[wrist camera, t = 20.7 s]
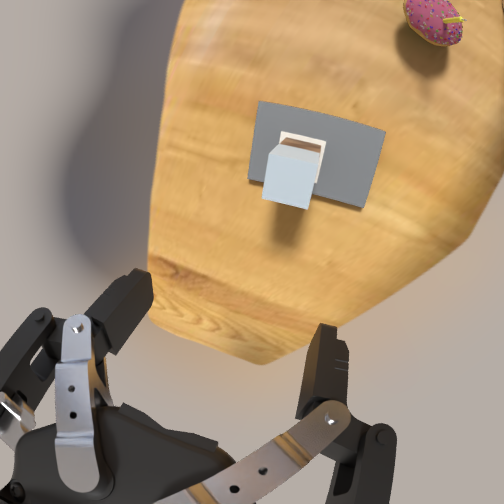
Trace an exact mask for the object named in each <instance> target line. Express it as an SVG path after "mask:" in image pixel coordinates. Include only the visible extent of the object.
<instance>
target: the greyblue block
mask: <svg viewBox="0 0 504 504" xmlns="http://www.w3.org/2000/svg"><path fill="white" fill-rule="evenodd" d="M319 156H320V153H318V152H314V151H309V150H305V149H301V148H296V147H292V146H287V145H282V144H278V145H277V146H276V147H275V148H274V149H273V150H272V151H271V152H270V153H269V156H268V162H267V168H266V174H265V181H264V187H263V193H262V199H266V200H270V201H275V202H279V203H283V204H287V205H291V206H295V207H299V208H304V209H307V210H308V207H309V202H310V198H311V194H312V190H313V186H314V181H315V177H316V173H317V168H318V163H319Z"/></svg>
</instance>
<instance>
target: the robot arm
mask: <svg viewBox="0 0 504 504" xmlns="http://www.w3.org/2000/svg"><path fill="white" fill-rule="evenodd" d="M502 4H503V9H504V0H502ZM153 298H154V295H153V287H152V279H151V274H150V273H149V272H146V271H143V270H140V269H137V268H135V269H133V271H131V273H130V274H129V275H128V276H125V275H124V276H122V277H120V278H118V279H116V280H115V281H114V282H113V283H112V284H111V285H110V286H109V287H108V288H107V289H106V290H105V291H104V292H103V294H102V295H100V297H99V298H98V299H97V300H96V301H95V302H94V303H93V304H92V305H91V306H90V308H89V309H88V310H87V311H86V312H85V313H84V314H83V315H82V314H76V315H73V316H71V317H69V318H68V319H61V318H55V317H53V315H52V313H51V311H50V310H49V309H47V308H38V309H36V310H34V311H33V312H32V313H31V314H30V315H29V316H28V317H27V319H26V320H25V321H24V322H23V323H22V324H21V326H20V327H19V328H18V329H17V330H16V332H15V333H14V334H13V336H12V337H11V338H10V339H9V341H8V342H7V343H6V344H5V346H4V347H3V349H2V350H1V351H0V438H1V439H2V440H3V441H4V442H5V443H6V444H7V445H8V446H9V447H10V448H11V449H12V450H13V451H14V452H15V463H14V471H13V475H12V478H11V480H10V482H9V483H8V484H7V485H6V486H5V487H4V488H3V489H1V490H0V504H256V501H258V500H259V499H261V498H262V497H264V496H265V495H267V494H268V493H269V492H271V491H273V490H274V489H275V488H277V487H278V486H279V485H281V484H282V483H284V482H285V481H286V480H288V479H289V478H290V477H292V476H293V475H294V474H296V473H297V472H298V471H299V470H301V469H302V468H303V467H304V466H306V465H307V464H308V463H309V462H310V460H312V459H313V458H314V457H315V456H316V455H318V454H319V453H321V454H322V455H325V456H327V457H329V458H331V459H333V460H335V461H336V463H335V467H334V472H333V476H332V480H331V485H330V488H329V492H328V496H327V500H326V503H325V504H389V500H390V494H391V488H392V482H393V473H394V466H395V457H396V445H397V436H396V433H395V431H394V430H393V428H392V427H390V426H389V425H387V424H383V423H379V424H375V425H373V426H370V425H368V424H366V423H364V422H361V421H359V420H357V419H356V418H355V417H354V416H353V415H352V414H351V413H350V411H349V410H348V407H347V387H348V365H349V364H348V361H349V350H348V348H347V345H346V343H345V341H342V340H338V339H337V327H335V326H331V325H327V324H323V323H320V324H319V326H318V328H317V330H316V333H315V335H314V337H313V339H312V341H311V343H310V346H309V349H308V352H307V357H306V362H305V369H304V375H303V380H302V386H301V392H300V396H299V402H298V407H297V412H296V417H295V419H299V420H301V421H300V422H298V423H297V424H296V425H294V426H293V427H292V428H290V429H289V430H288V431H287V432H285V433H283V434H280V435H278V436H277V437H275V438H274V439H272V440H271V441H269V442H268V443H266V444H265V445H263V446H262V447H260V448H259V449H257V450H256V451H254V452H253V453H251V454H250V455H248V456H246V457H245V458H243V459H242V460H240V461H238V462H237V463H236V462H235V460H234V459H233V458H232V457H231V456H230V455H229V454H228V453H227V452H225V451H224V450H222V449H221V448H219V447H218V442H217V441H214V440H211V439H208V438H205V437H202V436H200V435H197V434H194V433H187V432H180V431H174V430H168V429H165V428H163V427H162V426H161V425H159V424H158V423H157V422H155V421H154V420H153V419H151V418H150V417H149V416H148V415H146V414H145V413H144V412H141V411H139V410H137V409H135V408H133V407H131V406H129V405H127V404H125V403H123V404H122V405H121V407H116V406H114V405H113V401H112V398H111V395H110V391H109V384H108V376H107V365H106V358H105V356H106V354H107V353H108V352H110V353H112V354H114V355H117V353H118V352H119V350H120V349H121V348H122V346H123V345H124V343H125V342H126V340H127V339H128V338H129V336H130V335H131V334H132V332H133V331H134V329H135V328H136V327H137V325H138V324H139V322H140V321H141V320H142V318H143V317H144V316H145V314H146V313H147V312H148V310H149V309H150V307H151V305H152V303H153ZM41 346H42V348H43V349H42V350H41V352H40V353H39V354H38V356H37V357H36V358H35V360H34V361H33V362H32V364H31V365H30V361H31V359H32V358H33V356H34V355H35V353H36V352H37V351H38V349H39V348H40V347H41ZM54 379H55V409H56V423H54V424H51V425H48V426H45V427H42V428H39V429H35V430H32V429H33V428H34V427H35V426H36V422H35V420H34V419H35V417H34V416H35V415H34V411H35V410H36V408H37V406H38V405H39V403H40V401H41V400H42V398H43V396H44V395H45V393H46V391H47V390H48V388H49V387H50V385H51V383H52V382H53V380H54Z"/></svg>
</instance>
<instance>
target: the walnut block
mask: <svg viewBox="0 0 504 504" xmlns="http://www.w3.org/2000/svg"><path fill="white" fill-rule="evenodd" d="M280 144H282V145H287V146H292V147H296V148H301V149H305V150H309V151H314V152H318V153H320V152H321V145H318V144H314V143H310V142H305V141H301V140H297V139H292V138H288V137H286V138H285V139H284V140H283V141H282V142H281V143H280ZM319 157H320V156H319Z"/></svg>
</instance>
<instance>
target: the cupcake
mask: <svg viewBox="0 0 504 504" xmlns="http://www.w3.org/2000/svg"><path fill="white" fill-rule="evenodd" d="M403 8H404V13H405V16H406V19H407V22H408V25H409V26H410V28H412V29H413V30H414V31H415V32H416V33H417V34H418V35H420V36H421V37H422V38H423V39H425V40H426V41H428V42H429V43H431V44H434V45H438V46H450V45H453V44H457V43H459V42H460V40H461V38H462V28H463V26H462V22H464V20H465V21H467V20H466V19H463V18H462V17H460V16H459V13H457V11H456V10H455V8H454V7H453V6H452V4H451V3H449V1H447V0H404V3H403Z"/></svg>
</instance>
